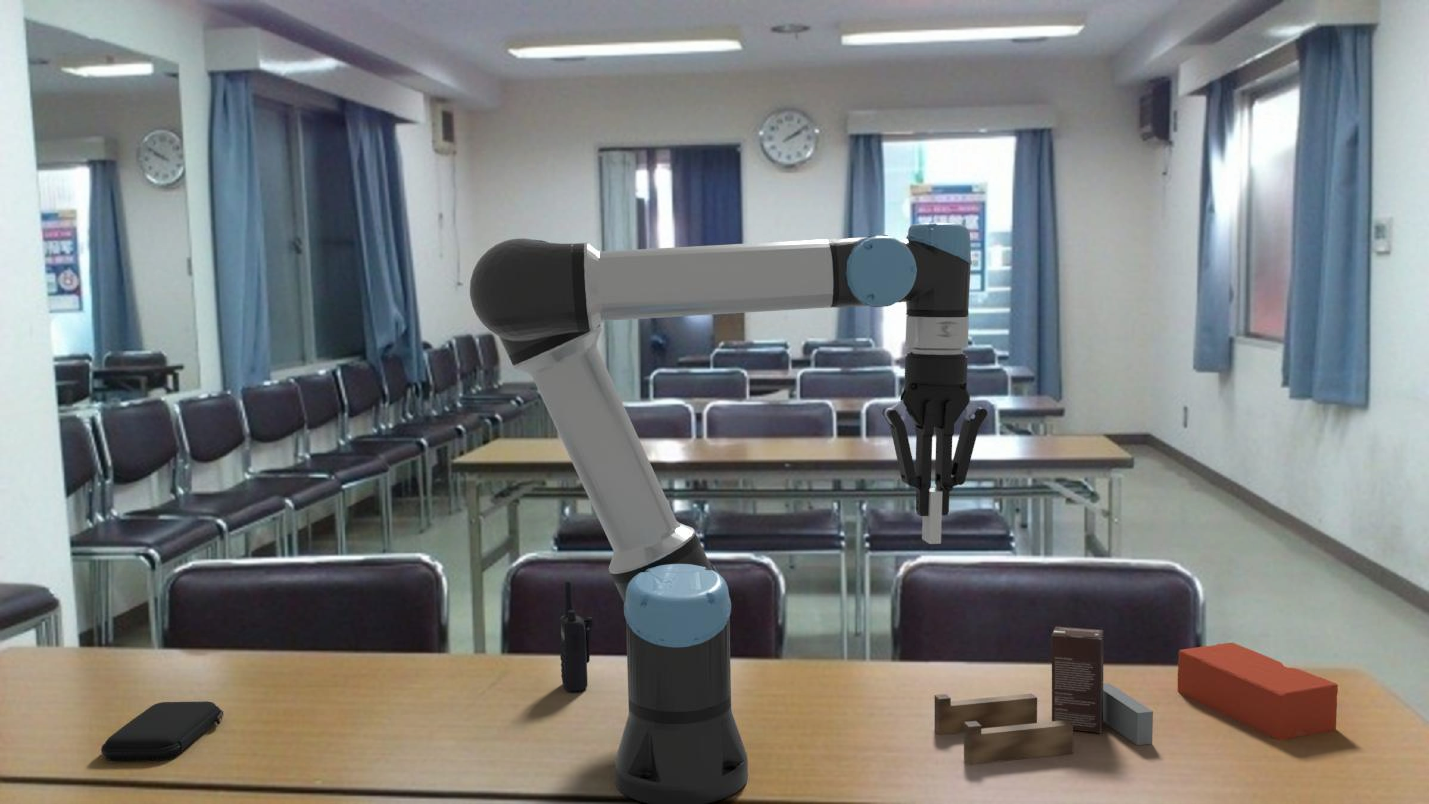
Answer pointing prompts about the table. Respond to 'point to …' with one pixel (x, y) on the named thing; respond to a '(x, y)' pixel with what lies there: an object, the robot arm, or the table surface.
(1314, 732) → the brick
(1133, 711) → the end stop
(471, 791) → the table surface
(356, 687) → the table surface
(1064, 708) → the box
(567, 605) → the two-way radio
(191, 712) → the carrying case or bag
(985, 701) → the brown piece
